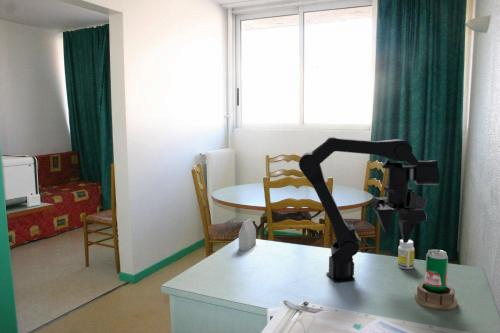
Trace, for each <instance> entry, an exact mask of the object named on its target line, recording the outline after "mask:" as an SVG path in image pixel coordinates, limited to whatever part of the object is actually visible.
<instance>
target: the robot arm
mask: <svg viewBox="0 0 500 333" xmlns="http://www.w3.org/2000/svg"><path fill="white" fill-rule="evenodd" d="M335 152H341V153H353V154H363V155H376V156H380V157H383V158H386V159H385V161H384V162H383V163H382V164H380V167H381V168H382V169H387V184H386V185H387V186H384V187H383V190H384V191H386V196H381V197H379V196H378V197H376V196H375V197H373V198H372V199H371V201H370V202H371V203H370V206H371V208H373V211H374V212H375V214H376V216H377V218H378V220H379V224H380V225H381V227H382V230H383V232H384V234H390V230H391V229H390V228H391V222H392V221H391V220H392V215H393V214H395V212H396V213H398V217H399V218H398V219H397V221H398V225H399V230H400V235H401V238H402V239H403V242H404V243H407V242H408V240H410V238H411V235H412V234H413V231H414V229H415V227H416V226H417V225H418V224H419V223H423V221H427V219H428V216H427V214H428V213H427V212H426V210H425V207H426V205H427V203H428V198H427V197H423V196H420V195H417V194H416V191H414V190H413V188H410V180H411V182H414V184H415V185H416V186H417V185H419V186H420V185H422V186H432V185H433V186H439V183H440V178H441V174H440V169H439V168H440V167H439V162H438V160H432V159H431V160H430V159H429V160H418V158H416V156H415V155H414V154H413V148H412V144H410V143H409V141H406V140H404V139H399V138H397V139H396V138H395V139H386V140H385V139H384V140H377V141H375V140H364V139H351V138H339V137H334V136H330V137H328V138H327V139H325V141H324V142H323V143H321V144H320V145H318V146H317V147H316V148H314V149H313V150H312V151H310V152H309V151H308V152H305V153H304V154H302V156H301V157H300V159H299V162H298V167H299V170H300V171H301V173H302V174H303V175H304V177H305V178H306V180H307V181H308V182H309V183H310V184H311V185H312V187H313V189H314V190H315V193H316V195H317V196H318V199H319V201H320V203H321V205H322V208H323V209H324V211H325V213H326V216H327V217H328V219H329V222H330V224H331V226H332V228H333V231H334V235H335V239H336V241H335V242H334V243H332V244H331V245H330V253H331V254H330V256H328V271H327V272H326V273H325V274H326V276H328V278H330V279H331V280H332V281H333V282H334V283H341V282H350V281H356V278H355V276H354V275H355V262H354V258H353V256H355V255H357V254H358V253H359V250H360V245H359V243H360V242H361V240H360V237H359V233H357V232H356V230H355V228H354V224H353V223H351V224H348V223H347V222H346V221H345V219H344V218H343V214H342V213H341V211H340V209H339V207H338V205H337V202H336V201H335V199H334V197H333V195H332V193H331V190H330V188H329V186H328V184H327V182H326V180H325V176H324V173H323V168H322V165H321V164H322V163H323V162H324V161H326V159H328V158H329V157H330V156H331V155H332V154H333V153H335ZM390 160H393V161H390ZM395 161H396V162H395ZM402 162H404V163H407V164H408V165H403V163H402ZM402 239H401V240H402Z"/></svg>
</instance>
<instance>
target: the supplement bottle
mask: <svg viewBox="0 0 500 333" xmlns="http://www.w3.org/2000/svg"><path fill="white" fill-rule="evenodd" d="M397 253H398V255H397V266H398V267H399V268H401V269H404V270H406V269H407V270H410V269H413V268H414V267H415V247H414V241H413V240H412V239H409V240H408V242H407V243H404V242H403V239H399V246H398V248H397Z"/></svg>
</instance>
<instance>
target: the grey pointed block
mask: <svg viewBox="0 0 500 333" xmlns="http://www.w3.org/2000/svg"><path fill="white" fill-rule="evenodd" d="M253 222H254V221H253V218H249V219H247V220H245V221H243V222H241V223H242V224H241V227H240V230H239V232H238V250H242V251H249V250H251V249H252V248H253V247H255V246H257V232H256V231H257V229H256V226H255V224H254V223H253Z"/></svg>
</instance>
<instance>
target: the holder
mask: <svg viewBox="0 0 500 333" xmlns="http://www.w3.org/2000/svg"><path fill="white" fill-rule="evenodd" d="M455 294H456V290H455V288H453V287H452V286H450V285H448V284H446V294H436V293H432V292H428V291H426V290H425V281H421V282H419V283H418V285H417V291H415V293H414V301H415V302H416V303H417V304H419V305H420V306H422V307H424V308H428V309H430V310H431V309H432V310H434V311H451V310H455V309H456V308H457V306H458V299H457V298H456V297H455Z"/></svg>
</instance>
